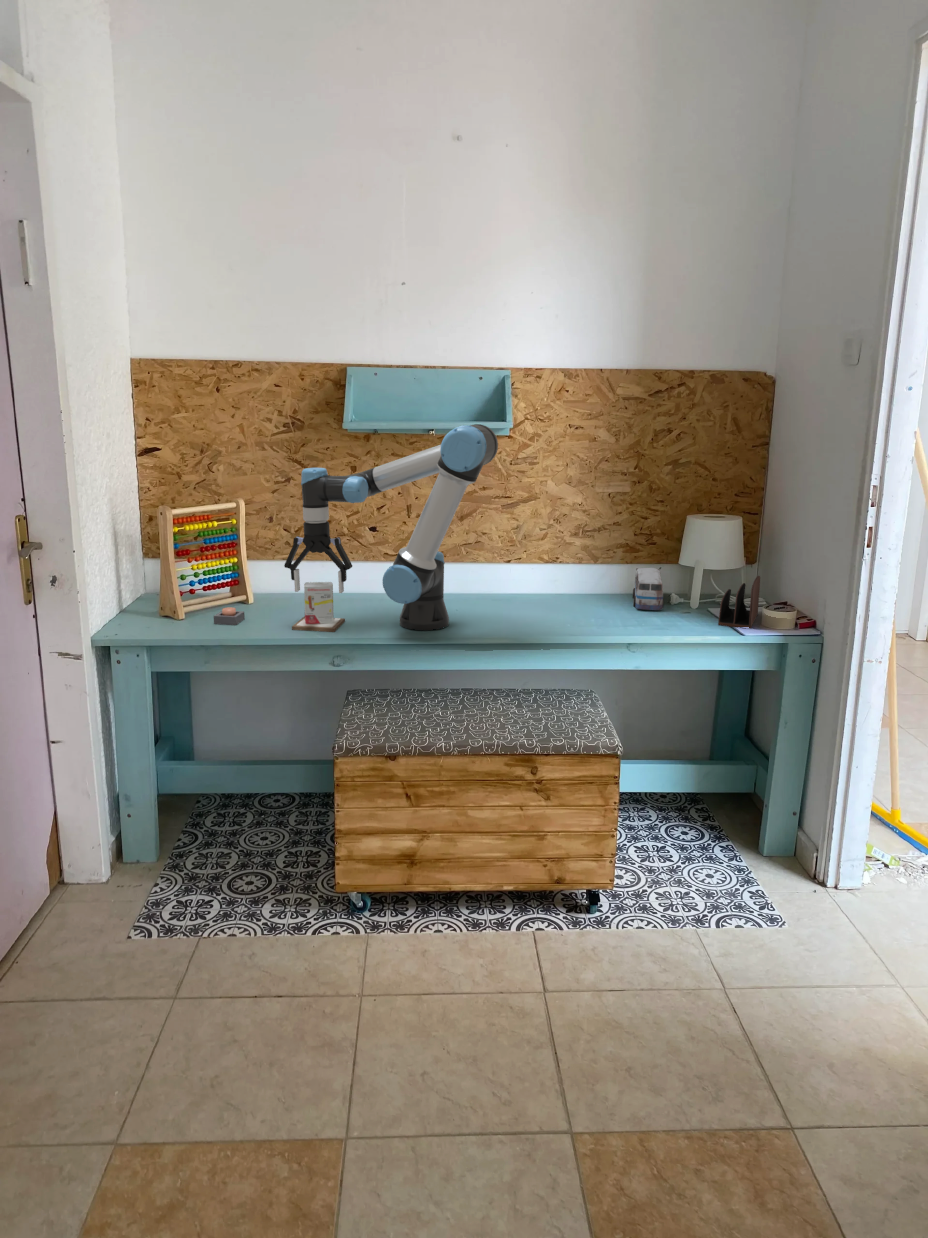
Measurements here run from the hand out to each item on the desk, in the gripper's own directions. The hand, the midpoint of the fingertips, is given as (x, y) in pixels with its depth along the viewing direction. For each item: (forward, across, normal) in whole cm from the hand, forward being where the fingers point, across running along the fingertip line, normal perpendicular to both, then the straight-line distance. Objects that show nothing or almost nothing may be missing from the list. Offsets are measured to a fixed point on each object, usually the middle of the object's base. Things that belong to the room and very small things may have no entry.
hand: (319, 591), depth 274 cm
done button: (+8, +29, +1) cm, 30 cm away
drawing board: (+11, +1, 0) cm, 11 cm away
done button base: (+10, +29, +1) cm, 30 cm away
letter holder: (+14, -128, -34) cm, 133 cm away
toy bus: (+13, -100, -52) cm, 113 cm away
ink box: (+10, 0, 0) cm, 10 cm away
